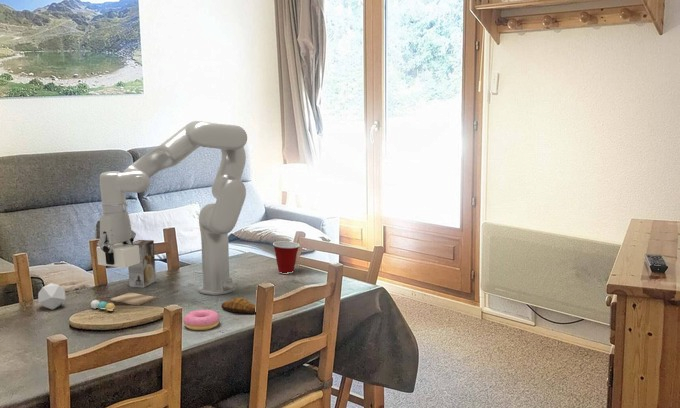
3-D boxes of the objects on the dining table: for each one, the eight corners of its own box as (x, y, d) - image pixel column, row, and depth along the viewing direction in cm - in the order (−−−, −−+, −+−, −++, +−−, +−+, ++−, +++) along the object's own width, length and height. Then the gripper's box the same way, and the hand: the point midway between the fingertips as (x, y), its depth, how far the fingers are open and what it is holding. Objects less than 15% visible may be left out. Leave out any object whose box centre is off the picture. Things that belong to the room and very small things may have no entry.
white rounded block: (140, 262, 222) (138, 245, 221) (124, 268, 216) (123, 250, 215) (113, 259, 228) (112, 242, 227) (98, 264, 221) (96, 247, 220)
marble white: (102, 308, 220) (102, 299, 219) (95, 310, 217) (94, 301, 217) (96, 306, 221) (95, 298, 221) (88, 309, 219) (88, 300, 218)
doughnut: (176, 326, 203) (176, 312, 202) (207, 317, 210) (207, 305, 210) (196, 334, 195) (195, 321, 194) (227, 325, 203) (227, 312, 202)
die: (71, 308, 221) (69, 282, 226) (54, 303, 214) (52, 275, 218) (50, 316, 223) (49, 289, 227) (32, 310, 215) (31, 283, 219)
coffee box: (140, 280, 254) (138, 239, 251) (156, 281, 252) (154, 240, 250) (128, 287, 245) (126, 244, 242) (144, 287, 244) (142, 245, 241)
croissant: (216, 312, 216) (215, 297, 215) (228, 306, 222) (227, 291, 221) (251, 317, 210) (250, 302, 209) (262, 311, 216) (262, 296, 215)
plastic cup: (299, 276, 259) (298, 246, 257) (271, 276, 259) (271, 246, 257) (301, 269, 270) (300, 240, 268) (274, 269, 270) (274, 240, 268)
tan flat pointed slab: (157, 298, 230) (157, 297, 230) (138, 305, 222) (137, 304, 222) (129, 293, 236) (129, 292, 236) (110, 300, 228) (110, 298, 228)
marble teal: (110, 309, 218) (109, 300, 218) (102, 312, 216) (102, 303, 215) (103, 308, 220) (102, 299, 219) (96, 310, 217) (95, 302, 216)
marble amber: (117, 311, 217) (116, 302, 216) (110, 313, 214) (109, 304, 214) (110, 309, 218) (110, 301, 218) (103, 312, 215) (103, 303, 215)
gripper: (125, 204, 228) (129, 254, 231) (85, 212, 213) (90, 266, 216) (141, 205, 225) (146, 256, 228) (102, 214, 209) (107, 268, 212)
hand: (119, 260), depth 222 cm, fingers closed on white rounded block, 7 cm apart
